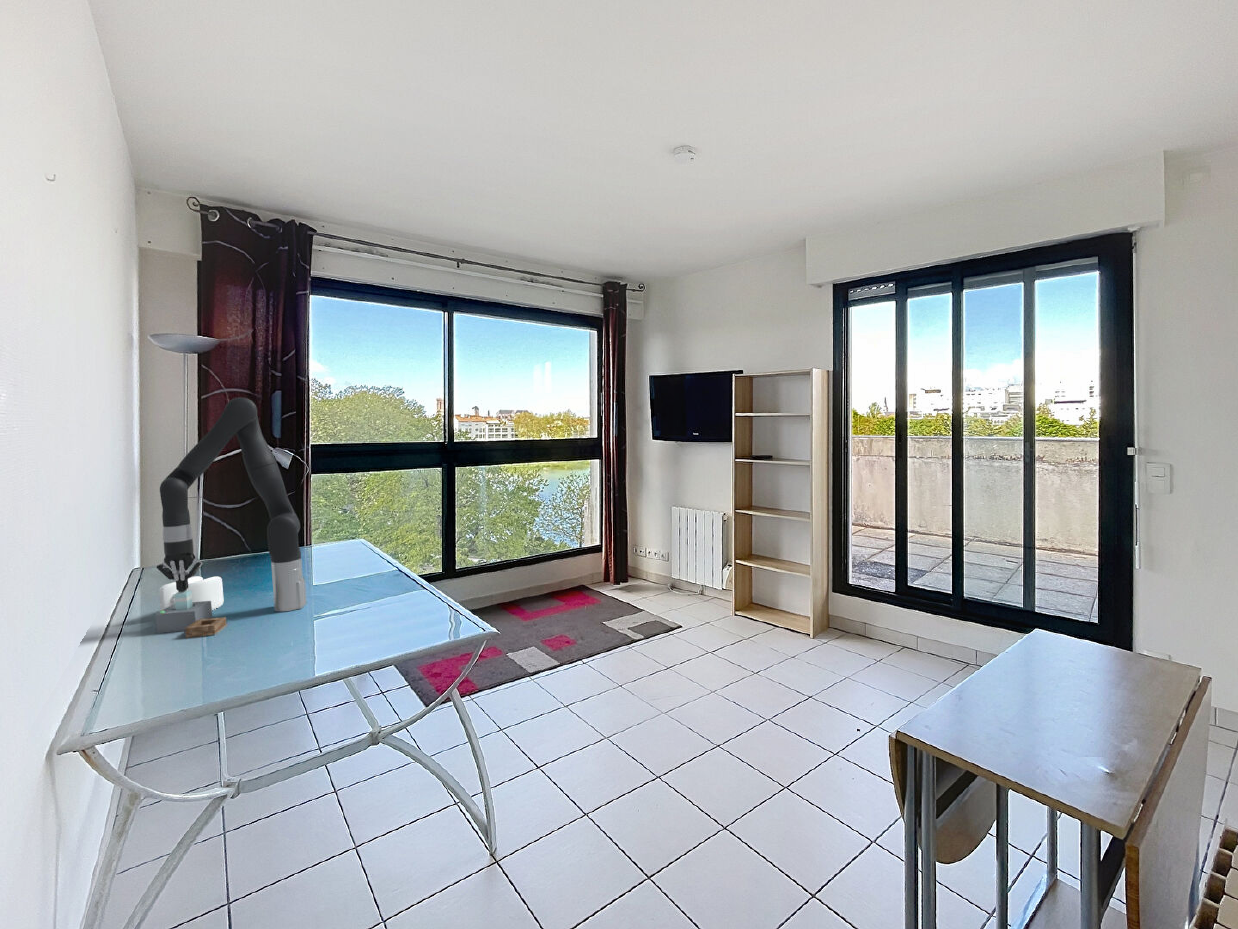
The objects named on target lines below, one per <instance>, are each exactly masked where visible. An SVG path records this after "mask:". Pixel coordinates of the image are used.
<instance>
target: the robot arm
mask: <svg viewBox="0 0 1238 929" xmlns="http://www.w3.org/2000/svg"><path fill="white" fill-rule="evenodd" d="M219 416H220V417H219V418H218V419H217V421H216V422H215V424H214V425H213V426H212V427H211V428H210V429H209V431H208V432H207V433H206V434H205V435H204V436H203V437H202V438H201V439H200V440H199V441H198V443H197V444H196V445H194V446H193V447H192V449H191V450H190V451H189V452H188V453H187V454H186V455H185V457H183V459H182V460H181V461H180V462H179V464H178V466H176V467H175V468H174V469H173V471H172V472H170V473H169V474H168V475H167V476H166V477H165V478H164V479H163V480H162V481H161V483H160V486H159V494H160V501H161V507H162V508H161V509H162V515H161V516H162V517H161V518H162V528H163V529H162V541H163V551H164V559H163V562H162V563H160V564H158V565H156V569H157V570H158V571H159V572H160V573H162V575H164V577H166V578H167V579H168V580H169V581H170V580H173V581H174V582H176V589H177V590H178V592H185V591H186V590H187V589H188V578H191V577H194V576H195V575H196V573H198V571H199V570H200V568H201V567H203V565H204V563H205V562H204V561H203V560H199V559H197V558H196V555H195V553H194V552H195V551H194V541H193V540H194V538H193V530H192V525H191V515H190V510H189V499H188V498H189V494H188V490H189V489H190V487H191V486H192V485H193V484H194V483H195V481H196V480H197V479H198V478H199V477H201V476H202V475H203V474H204V473H205V472H206V470H208V469H209V467H211V465H212V464H213V462H215V460H216V459H217V458H218V456H219V455H220V454H221V452H222V451H223V449H224V448H225V447H226V446H227V445H228V443H229V442H230V440H231V439H232V438H233V437H234V436H236V437H237V440H238V443H239V446H240V451H241V454H242V455H241V456H242V460H243V463H244V467H245V470H246V473H247V475H248V477H249V480H250V483H251V484H252V486H253V488H254V490H255V491H256V493H257V494H258V495H259V497H260V498H261V499H262V501H263V503H264V505H265V507H266V510H267V513H268V515H269V520H270V521H269V523H268V524H267V529H266V536H267V537H266V538H267V546H268V554H269V556H270V561H271V562H270V563H271V564H270V566H271V577H272V591H273V593H272V594H273V602H274V604H273V605H274V611H276V612H288V611H289V612H290V611H294V610H301V609H302V608H303V607H304V606H306V604H307V593H306V592H307V591H306V578H305V577H303V567H302V566H303V565H302V564H303V563H302V551H301V549H300V546H299V532H300V530H301V523H300V519H299V518H298V515H297V514H296V512H295V510H294V508H293V506H292V504H291V502H290V500H289V497H288V494H287V491H286V486H285V483H284V480H283V476H282V473H281V470H280V468H279V465H278V463H277V461H276V460H277V459H276V457H275V456H274V454H273V452H272V450H271V448H270V446H269V445H268V443H267V441H266V439H265V438H264V435H263V433H262V429H261V427H260V423H259V417H258V408H257V405H256V404H255V402H254V401H253V400H252V399H249V398H246V397H241V396H239V397H234V398H232V399H231V400H229V401H228V402H227V403H226V405H225V407H224V410H223V411H222V413H221V415H219ZM191 566H192V568H191V569H190V567H191Z"/></svg>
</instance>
